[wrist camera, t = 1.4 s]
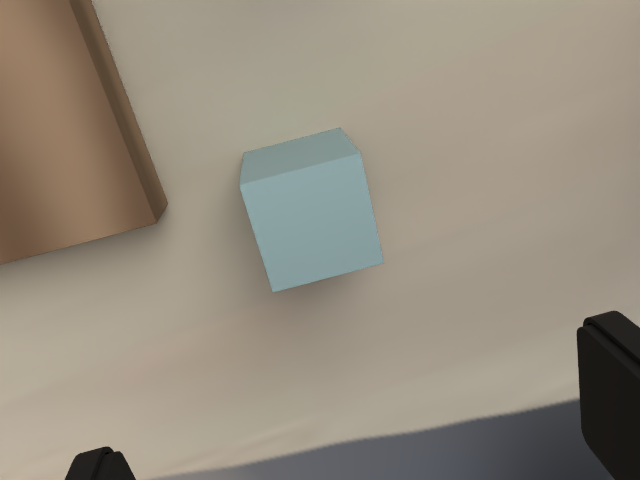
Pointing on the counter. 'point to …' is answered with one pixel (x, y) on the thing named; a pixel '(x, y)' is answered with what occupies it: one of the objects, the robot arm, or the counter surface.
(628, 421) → the robot arm
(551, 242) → the counter surface
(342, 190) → the block
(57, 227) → the base
